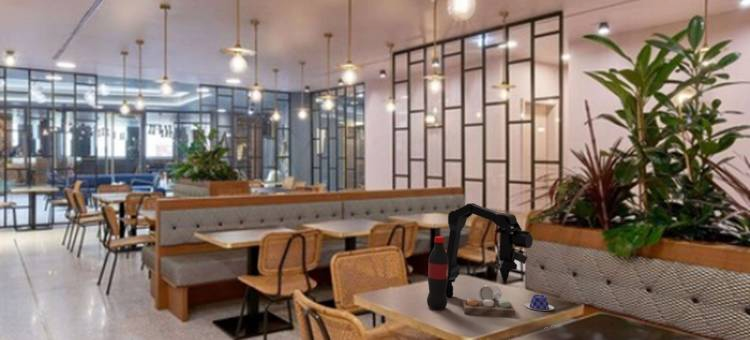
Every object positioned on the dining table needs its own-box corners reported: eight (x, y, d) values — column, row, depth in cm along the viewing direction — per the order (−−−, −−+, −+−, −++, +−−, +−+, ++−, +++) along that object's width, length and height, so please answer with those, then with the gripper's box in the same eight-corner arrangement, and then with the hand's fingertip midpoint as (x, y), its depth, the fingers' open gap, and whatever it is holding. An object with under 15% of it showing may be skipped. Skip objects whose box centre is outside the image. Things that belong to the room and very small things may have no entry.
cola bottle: (448, 306, 225) (451, 236, 224) (444, 312, 217) (447, 238, 216) (429, 304, 228) (431, 234, 227) (424, 309, 220) (427, 237, 219)
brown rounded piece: (467, 307, 219) (467, 301, 219) (466, 304, 223) (466, 298, 223) (477, 308, 219) (478, 301, 219) (476, 305, 223) (477, 298, 223)
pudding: (550, 314, 220) (550, 301, 220) (521, 308, 226) (521, 296, 226) (556, 307, 231) (557, 295, 230) (528, 302, 237) (529, 290, 237)
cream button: (483, 308, 219) (483, 302, 218) (481, 305, 223) (482, 299, 223) (494, 309, 218) (494, 302, 218) (492, 306, 222) (492, 299, 222)
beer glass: (490, 282, 240) (481, 282, 227) (505, 289, 237) (496, 289, 224) (485, 296, 240) (475, 297, 227) (499, 303, 237) (490, 305, 224)
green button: (499, 309, 218) (499, 302, 218) (497, 306, 222) (498, 300, 222) (510, 310, 218) (510, 303, 217) (508, 307, 222) (508, 300, 222)
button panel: (464, 313, 215) (464, 307, 215) (462, 305, 227) (462, 299, 227) (514, 316, 214) (515, 310, 214) (509, 308, 226) (510, 302, 226)
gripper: (530, 249, 209) (529, 289, 210) (522, 241, 228) (520, 278, 228) (502, 248, 210) (500, 287, 211) (495, 240, 229) (494, 276, 229)
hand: (504, 282), depth 220 cm, fingers closed
